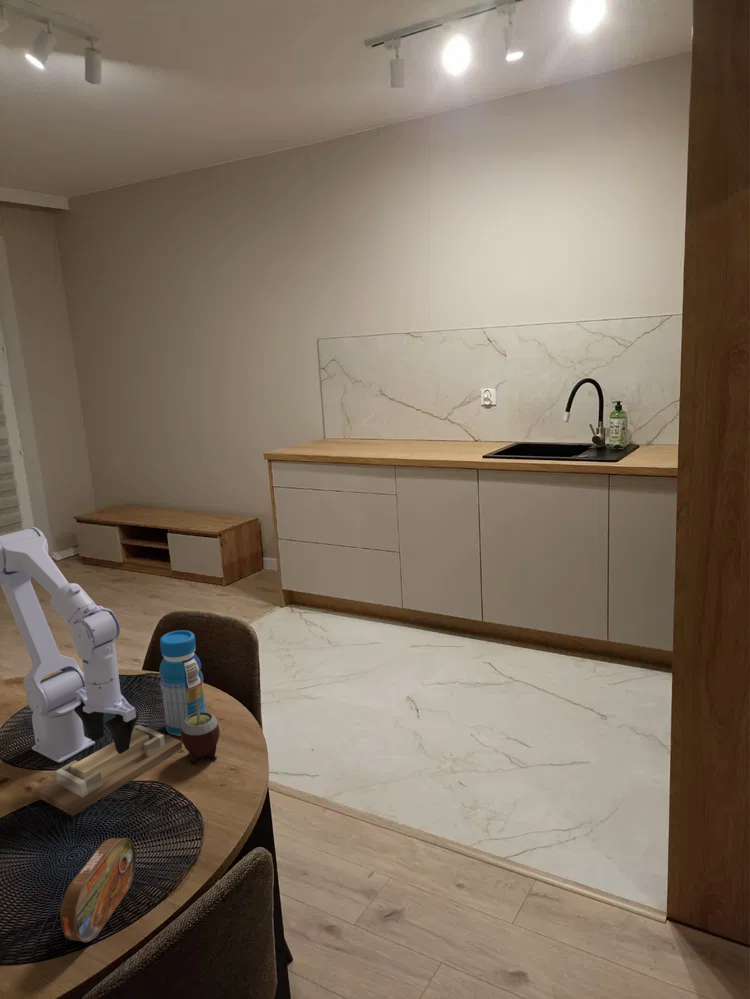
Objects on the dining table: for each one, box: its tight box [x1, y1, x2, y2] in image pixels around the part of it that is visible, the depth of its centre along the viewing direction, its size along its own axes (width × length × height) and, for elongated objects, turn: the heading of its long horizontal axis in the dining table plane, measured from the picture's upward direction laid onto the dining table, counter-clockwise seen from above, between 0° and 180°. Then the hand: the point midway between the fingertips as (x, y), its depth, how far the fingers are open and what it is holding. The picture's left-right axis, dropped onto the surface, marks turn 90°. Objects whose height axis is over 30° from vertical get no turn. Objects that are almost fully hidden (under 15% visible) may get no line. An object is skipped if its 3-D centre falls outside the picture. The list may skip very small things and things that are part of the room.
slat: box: [71, 730, 149, 780], centre depth 134 cm, size 4×14×3 cm, turn 146°
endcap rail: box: [37, 724, 183, 817], centre depth 135 cm, size 10×24×4 cm, turn 146°
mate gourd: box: [180, 698, 221, 766], centre depth 137 cm, size 8×8×15 cm
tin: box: [59, 837, 137, 943], centre depth 102 cm, size 15×3×8 cm, turn 168°
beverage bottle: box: [159, 629, 206, 737], centre depth 147 cm, size 8×8×20 cm
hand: (110, 744), depth 134 cm, fingers open, 7 cm apart
